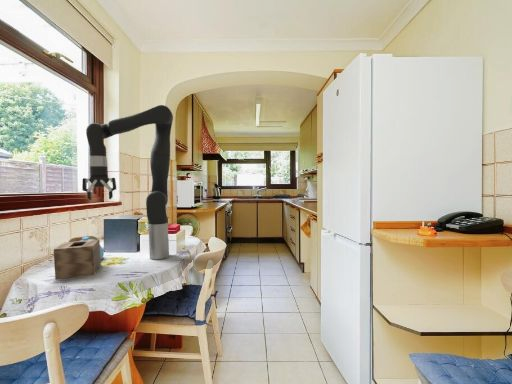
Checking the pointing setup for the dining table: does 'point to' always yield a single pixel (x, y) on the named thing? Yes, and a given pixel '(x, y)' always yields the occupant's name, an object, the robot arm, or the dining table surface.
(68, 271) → the money box
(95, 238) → the tin
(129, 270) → the dining table surface
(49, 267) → the dining table surface
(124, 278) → the dining table surface
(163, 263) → the dining table surface
